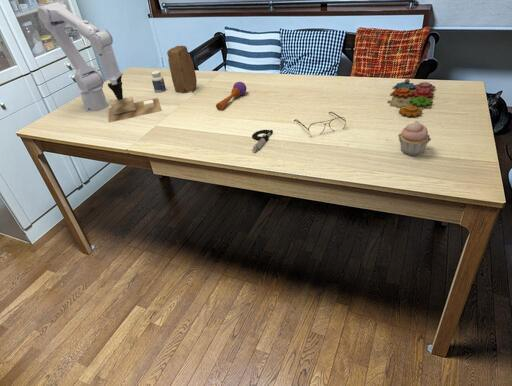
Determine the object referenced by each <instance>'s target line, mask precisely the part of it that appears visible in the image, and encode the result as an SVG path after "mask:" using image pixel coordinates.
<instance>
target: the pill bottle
mask: <svg viewBox="0 0 512 386" xmlns="http://www.w3.org/2000/svg"><path fill="white" fill-rule="evenodd" d="M151 76H152V77H151V82H152V86H153V89H154V92H155V93H164V92H166V91H167V88H166V83H165V79H164V76H162V75H161V71H160V70H154V71H152V72H151Z"/></svg>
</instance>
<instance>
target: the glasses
mask: <svg viewBox="0 0 512 386" xmlns="http://www.w3.org/2000/svg"><path fill="white" fill-rule="evenodd" d="M330 113H331V114H333V115H334V116H336V118H333V119H329V120H324V121H318V122H314V123H311V124H310V125H308V128H307V126H306V125H304V124H303V123H302V122H300V121H299V120H298V119H294V120H293V121H294V122H295V121H296V122H297V123H299V124H300V125H301V126H302V127H304V128H305V129H306V130H308V134H309V135H311V134H310V133H311V132H310V127H311V126H312V125H315V124H319V123H322V124H324V126H326V125H327V122H328V127H329V128H330V129H332V128H331V125H330V124H331V122H332V121H334V120H338V119H340V120H342V121H343V122H345V123H344V126H343V127H342V130H344V129H345V127H346V125H347V124H346V123H347V122H346V118H345V117H341V116H339V115H338V114H336V113H335V112H333V111H329V112H328V114H330ZM325 129H326V127H324V128H323V130H322V131H321V132H320V133H319V135H321V134H322V133H323V132H324V131H325ZM332 131H333V132H335V131H336V130H334V129H332Z"/></svg>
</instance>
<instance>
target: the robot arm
mask: <svg viewBox="0 0 512 386" xmlns="http://www.w3.org/2000/svg"><path fill="white" fill-rule="evenodd" d="M37 15H38V18H39V20H40V22H41V23H42V24H43V26H44V27H45V29H46V30H47V31H49V32H50V34H51V35H52V37H53V38H54V40H55V42H56V44H58V46H59V48H61V50H62V53H64V54H65V57H66V58H67V59H68V60H69V61H68V62H70V64H71V65H72V67H73V68H74V70H75V71H76V72H75V74H74V77H73V78H74V80H75V83H76V84H77V87H78V89H79V90H81V92H80V97H81V101H82V103H83V106H84V108H85V111H86V112H87V113H90V112H93V111H101V110H104V109H106V108H108V106H109V105H108V101H107V99H106V95H105V93H104V90H103V88H104V84H105V83H104V82H105V81H104V77H103V76H102V74H101V73H100V72H99V71H98V70H97V69H96V68H95V67H94V66H91V65H88V63H87V62H86V60H85V59H84V57H83V56H82V54H81V53H80V51H79V49H78V48H77V47H76V46H75V44H74V42H73V41H72V39H71V38H70V36H69V35H68V33H67V31H66V30H65V27H66V26H67V24H68V25H69V26H72V27H73V28H75V29H76V30H77V33H78V34H79V35H80V36H82V37H83V38H85V39H86V40H88V41H89V42H90V44H91V46H92V47H93V48H94V50H95V53H96V54H97V55H98V59H99V60H100V63H101V66H102V69H103V72H104V75H105V79H107V80H108V81H109V82H110V83H107V87H108V88H109V89H110V90H111V91H112V92H113V94H114V96H115V98H116V100H120V99H123V98H124V94H123V81H122V78H123V76H124V72H123V71H121V72H120V68H119V65H118V62H117V60H116V56H115V52H114V50H113V46H112V45H113V42H114V40H113V36H112V34H111V32H109V30H107V29H104V28H103V29H100V28H98V27H97V26H95V25H94V24H92V23H90V21H88V20H87V19H86V20H85V19H83V20H81V19H80V18H79V17H78V16H76V15H75V14H74V13H73V12H71V11H70V10H69V8H68V6H67V4H65V3H64V2H62V1H56V2H53V3H50V4H49V3H48V4H45V5H39V6H38V7H37Z"/></svg>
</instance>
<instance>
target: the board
mask: <svg viewBox="0 0 512 386" xmlns="http://www.w3.org/2000/svg"><path fill="white" fill-rule="evenodd" d="M152 99H153V102H154V106H155V107H152V108H147V109H145V106H144V101H147V100H148V99H145V100H141V101H136V102H134V104H135V107H136V111H134V112H130V113H125V114H120V115H116V116H115V115H114V112H113V109H112V107H108V123H113V122H117V121H123V120H126V119H133V118H136V117H141V116H145V115H150V114H154V113H159V112H162V106H161V103H160V99H159V97H155V98H151V99H149V100H152Z"/></svg>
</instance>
